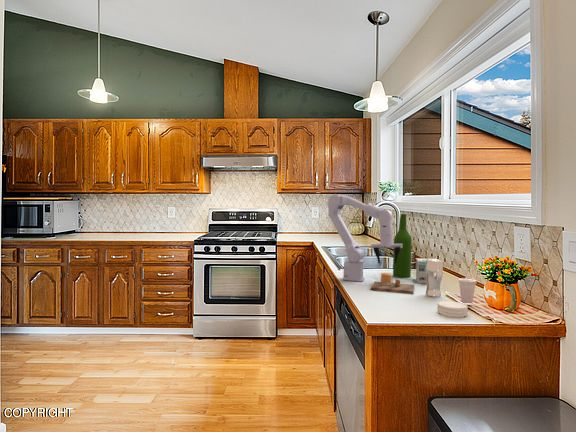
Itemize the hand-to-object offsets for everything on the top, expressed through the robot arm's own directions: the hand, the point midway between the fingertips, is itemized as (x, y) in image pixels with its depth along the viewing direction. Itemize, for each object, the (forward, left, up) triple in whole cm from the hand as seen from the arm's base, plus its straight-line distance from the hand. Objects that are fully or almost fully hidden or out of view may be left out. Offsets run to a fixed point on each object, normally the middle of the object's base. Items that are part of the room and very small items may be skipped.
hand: (387, 263), depth 191 cm
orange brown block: (0, 0, -10) cm, 10 cm away
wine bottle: (+6, +21, -10) cm, 24 cm away
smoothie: (+33, -28, -10) cm, 44 cm away
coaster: (+27, -43, -10) cm, 52 cm away
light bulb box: (+17, +12, -10) cm, 23 cm away
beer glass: (+21, -17, -10) cm, 28 cm away
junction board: (+4, -11, -10) cm, 15 cm away
